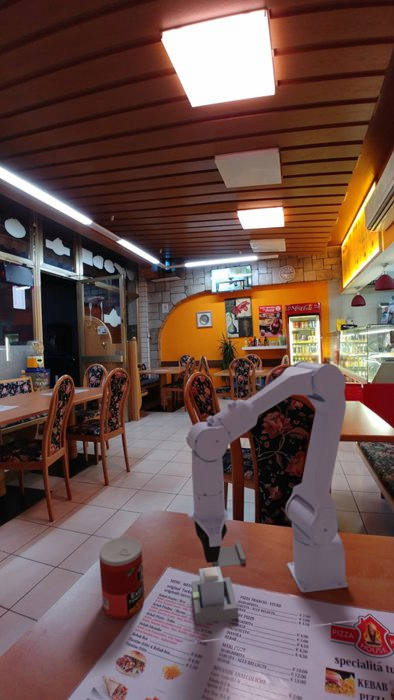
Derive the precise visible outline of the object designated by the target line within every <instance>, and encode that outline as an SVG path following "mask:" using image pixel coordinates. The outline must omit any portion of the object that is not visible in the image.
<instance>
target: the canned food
mask: <svg viewBox="0 0 394 700" xmlns="http://www.w3.org/2000/svg"><path fill="white" fill-rule="evenodd" d="M143 563H144V562H143V550H142V544H141V542H140V540H138V539H136V538H134V537H131V536H130V537H129V536H122V537H117V538H113V539H111V540H108V541H107V542H105V543H104V544H103V545H102V547H101V548H100V550H99V568H100V569H99V570H100V583H101V584H100V587H101V596H102V597H101V598H102V599H101V600H102V606H103V610H104V612H105V613H106V616H108V617H110V618H111V619H114V620H124V619H129V618H131V617H133V616H134V615H136V614H137V613H138V612H139V611H140V610H141V608H142V607H143V605H144V602H145V581H144V568H143V567H144V566H143V565H144V564H143Z"/></svg>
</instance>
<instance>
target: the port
mask: <svg viewBox="0 0 394 700" xmlns="http://www.w3.org/2000/svg"><path fill="white" fill-rule="evenodd" d="M222 578H223V582H224V592H226V597H227V601H228V604H225V605H219V606H211V607H203V608H202V607H201V602H200V601H201V600H200V599H201V595H200V580H195V581H193V580H191V591H192V601H193V602H192V603H193V608H194V609H193V610H194V619H195V625H201V624H202V625H203V624H209V623H216V622H217V623H218V622H222V621H223V622H224V621H231V620H238V619H239V606H238V604H237V603H238V602H237V600H236V595H235V592H234V589H233V588H234V587H233V583H232V580H231V577H230V576H227V577H222Z"/></svg>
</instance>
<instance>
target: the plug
mask: <svg viewBox="0 0 394 700" xmlns="http://www.w3.org/2000/svg"><path fill="white" fill-rule="evenodd" d="M198 570H199V572H198V574H199V581H200V595H199V596H200V601H201V602H200V604H201V608H203V607H211V606H219V605H226V604H225V591H224V582H223V578H224V577H223V575H222V569H221V567H220V566H218V567H214V566H210V567H205V568H204V567H203V568H199V569H198Z"/></svg>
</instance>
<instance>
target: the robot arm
mask: <svg viewBox="0 0 394 700" xmlns="http://www.w3.org/2000/svg"><path fill="white" fill-rule="evenodd" d="M346 385H347V378H346V376H345V375H344V374H343V372H342V371H341V369H340V368H339V367H338V366H336V365H335V364H331V363H319V362H318V363H317V362H310V361H307V360H298V361H297V362H294V364H293V365H291V366H288V367H287V368H286V369H284V371H283V372H282V373H281V374H280V375H279V376H278V377H276V378H275V379H273V380H272V381H271V382H270V383H269V384H267V385H266V386H264V387H263V388H262V389H260V391H258V392H257V393H256V394H255V395H253V396H252V397H250V398H249V399H248V400H244V399H236V400H234V399H232V400H230V401H228V402H227V403H226V404H227V406H226V407H225V408H223V409H222V410H221V411H219V412H217V413H216V414H214V415H213V416H212V415H209V416H208V417H206V421H200V422H199V421H198V422H196V423H195V424H193V425H192V426H191V427H190V431H188V433H187V436H186V438H185V439H186V443H187V445H188V446H189V447H190V449H191V474H192V475H191V476H192V477H191V478H192V497H193V499H192V500H193V510H189V511H188V512H187V518H188V520H189V521H194V526H195V527H194V529H195V533H196V535H197V538H199V541H200V543H201V545H202V548H203V553H204V558H205V561H206V564H208V563H209V564H211V563H213V562H218V558H219V553H220V548H221V547H223V540H224V537H225V536H226V534H227V531H228V528H227V525H226V518H227V510H226V508H225V507H226V506H225V504H226V503H225V502H226V501H225V485H224V483H225V482H224V464H223V456H224V455H225V453H226V452H227V449H228V446H229V445H230V444H231V443H232V442H234V441H235V440H237V439H238V438H239V437H241V436H242V435H243V434H245V433H247V432H248V431H249V430H251V429H252V428H254V427H255V426H256V425H257V422H258V419H259V418H258V417H259V415H261V414H263V413H264V412H266V411H268V410H270V409H271V408H273V407H274V406H276V405H278V404H279V403H281V402H282V401H284V400H286V399H288V398H289V397H291V396H293V395H295V396H305V397H306V399H308V400H309V402H310V403H311V404H312V406H313V407H314V408H315V409H314V410H315V412H314V418H313V422H312V423H313V424H312V428H311V433H310V438H309V439H310V440H309V442H308V443H309V444H308V449H307V454H306V459H305V464H304V470H303V475H302V480H301V483H299V484H297V485H295V486H294V487H293V488H292V492H291V495H290V497H289V499H288V500H287V502H286V505H285V514H286V516H287V518H288V520H289V521H290V522H291V528H292V546H293V547H292V548H293V550H292V551H293V561H291V562H288V563H286V566H287V568H288V570H289V572H290V574H291V576H292V577H293V580H294V582H295V583H296V585H297V587H298V589H299V590H300V592H301V593H311V592H317V591H318V592H320V591H328V590H334V589H342V588H344V589H345V588H347V587H348V583H347V581H346V555H345V548H344V544H343V541H342V538H341V537H340V535H339V534H338V529H339V523H338V519H337V517H338V516H337V515H338V506H337V504H336V502H335V500H334V498H333V496H332V494H331V492H330V491H331V488H332V482H333V476H334V472H335V467H336V466H335V465H336V461H337V456H338V451H339V446H340V445H339V444H340V441H341V440H340V439H341V435H342V430H343V429H342V428H343V424H344V419H345V414H346V409H347V407H346V406H347V404H346V403H347V402H346V397H345V389H346Z"/></svg>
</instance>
